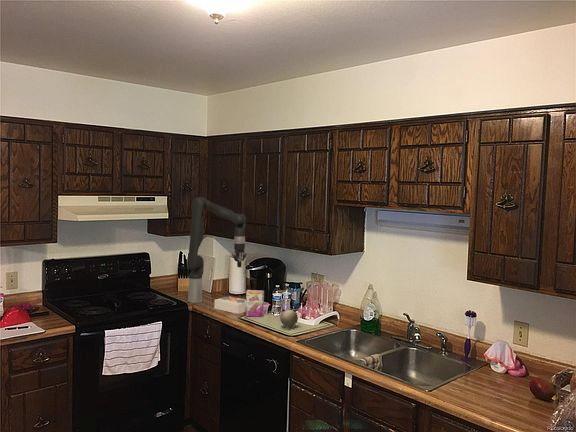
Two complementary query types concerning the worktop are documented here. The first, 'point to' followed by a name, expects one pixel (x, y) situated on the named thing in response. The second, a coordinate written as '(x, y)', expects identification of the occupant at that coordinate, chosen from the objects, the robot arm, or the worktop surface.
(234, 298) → the terracotta button
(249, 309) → the candy bar box
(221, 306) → the control panel
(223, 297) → the grey button
